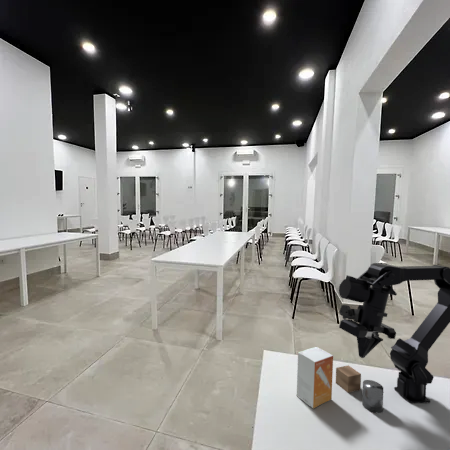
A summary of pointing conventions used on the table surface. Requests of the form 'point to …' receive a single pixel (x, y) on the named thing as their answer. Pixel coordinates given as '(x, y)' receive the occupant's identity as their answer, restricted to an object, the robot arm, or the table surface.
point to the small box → (314, 376)
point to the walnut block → (348, 379)
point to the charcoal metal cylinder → (372, 396)
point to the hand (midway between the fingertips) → (361, 357)
